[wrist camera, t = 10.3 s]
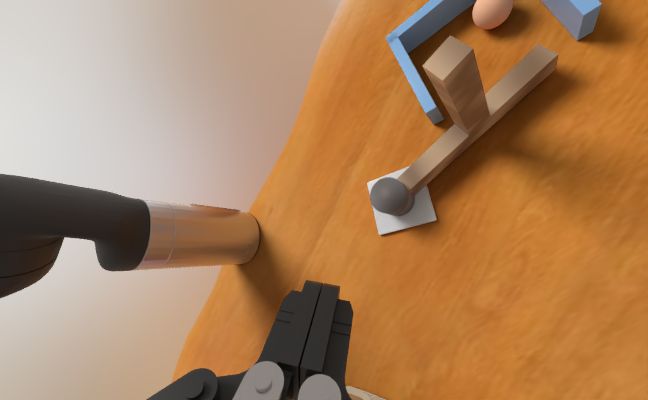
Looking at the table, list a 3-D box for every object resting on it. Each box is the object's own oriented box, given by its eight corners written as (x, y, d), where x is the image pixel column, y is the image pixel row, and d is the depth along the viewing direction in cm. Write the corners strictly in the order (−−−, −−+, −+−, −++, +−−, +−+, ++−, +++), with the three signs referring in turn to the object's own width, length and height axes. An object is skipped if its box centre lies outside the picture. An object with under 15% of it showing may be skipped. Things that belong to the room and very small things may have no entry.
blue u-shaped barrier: (592, 31, 25) (601, 3, 22) (434, 125, 32) (425, 113, 29) (521, -44, 29) (521, -76, 26) (396, 53, 36) (385, 37, 33)
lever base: (380, 235, 34) (378, 234, 34) (368, 183, 36) (367, 182, 36) (437, 220, 30) (436, 220, 30) (420, 163, 32) (419, 162, 32)
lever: (396, 223, 32) (332, 210, 22) (376, 198, 34) (309, 176, 24) (565, 73, 25) (597, -57, 14) (528, 54, 27) (530, -75, 16)
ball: (471, 40, 30) (460, 7, 29) (493, 20, 31) (483, -13, 29) (501, 31, 27) (490, -5, 26) (525, 9, 28) (516, -29, 26)
